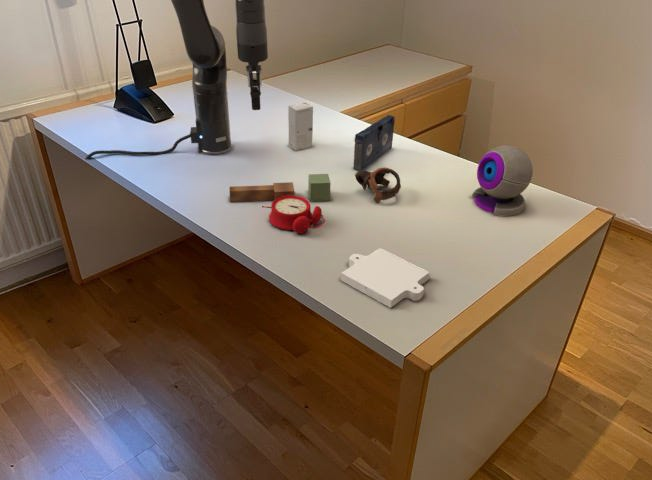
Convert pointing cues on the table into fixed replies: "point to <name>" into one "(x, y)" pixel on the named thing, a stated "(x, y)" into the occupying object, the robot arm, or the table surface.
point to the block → (319, 187)
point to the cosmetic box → (300, 125)
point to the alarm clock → (294, 214)
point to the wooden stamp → (261, 192)
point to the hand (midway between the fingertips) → (255, 103)
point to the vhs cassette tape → (373, 142)
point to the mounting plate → (385, 277)
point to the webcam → (503, 180)
